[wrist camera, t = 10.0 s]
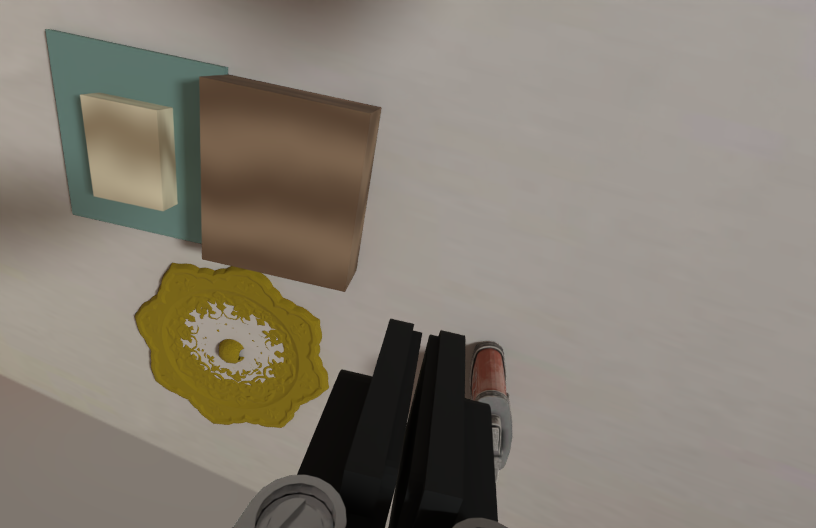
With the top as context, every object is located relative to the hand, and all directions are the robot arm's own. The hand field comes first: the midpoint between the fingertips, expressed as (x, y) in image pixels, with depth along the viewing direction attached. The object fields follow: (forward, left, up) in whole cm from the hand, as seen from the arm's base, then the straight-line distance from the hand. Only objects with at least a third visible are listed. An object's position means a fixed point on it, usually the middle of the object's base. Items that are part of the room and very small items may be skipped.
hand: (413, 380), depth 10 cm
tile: (+5, -25, -24) cm, 35 cm away
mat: (+5, -25, -27) cm, 37 cm away
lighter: (+20, +8, -27) cm, 35 cm away
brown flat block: (+5, -12, -27) cm, 30 cm away
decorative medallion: (+24, -17, -28) cm, 41 cm away
